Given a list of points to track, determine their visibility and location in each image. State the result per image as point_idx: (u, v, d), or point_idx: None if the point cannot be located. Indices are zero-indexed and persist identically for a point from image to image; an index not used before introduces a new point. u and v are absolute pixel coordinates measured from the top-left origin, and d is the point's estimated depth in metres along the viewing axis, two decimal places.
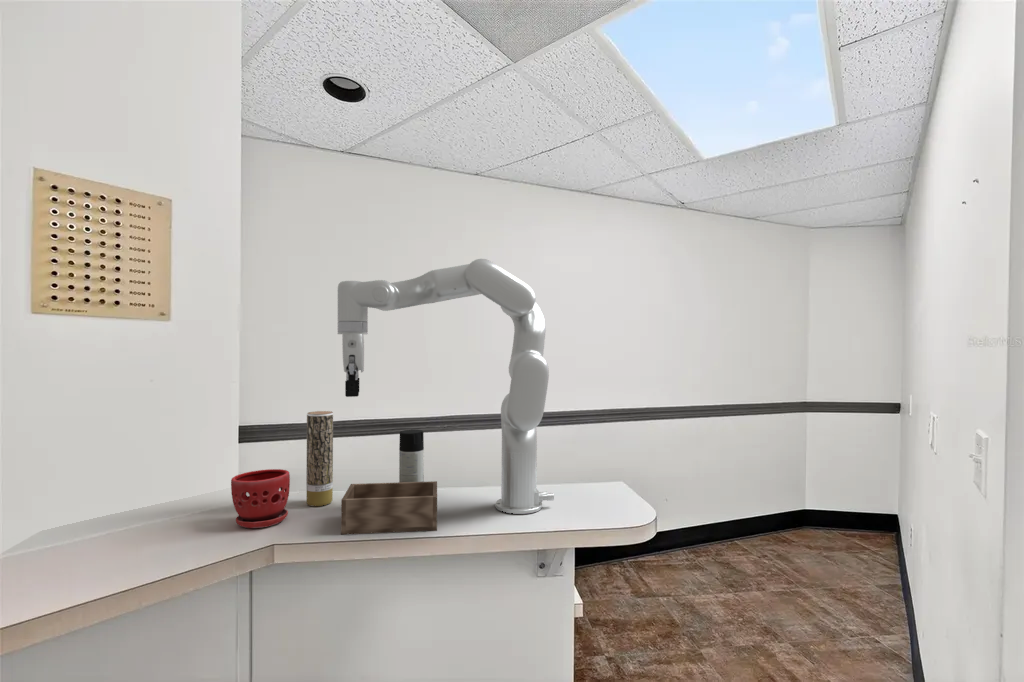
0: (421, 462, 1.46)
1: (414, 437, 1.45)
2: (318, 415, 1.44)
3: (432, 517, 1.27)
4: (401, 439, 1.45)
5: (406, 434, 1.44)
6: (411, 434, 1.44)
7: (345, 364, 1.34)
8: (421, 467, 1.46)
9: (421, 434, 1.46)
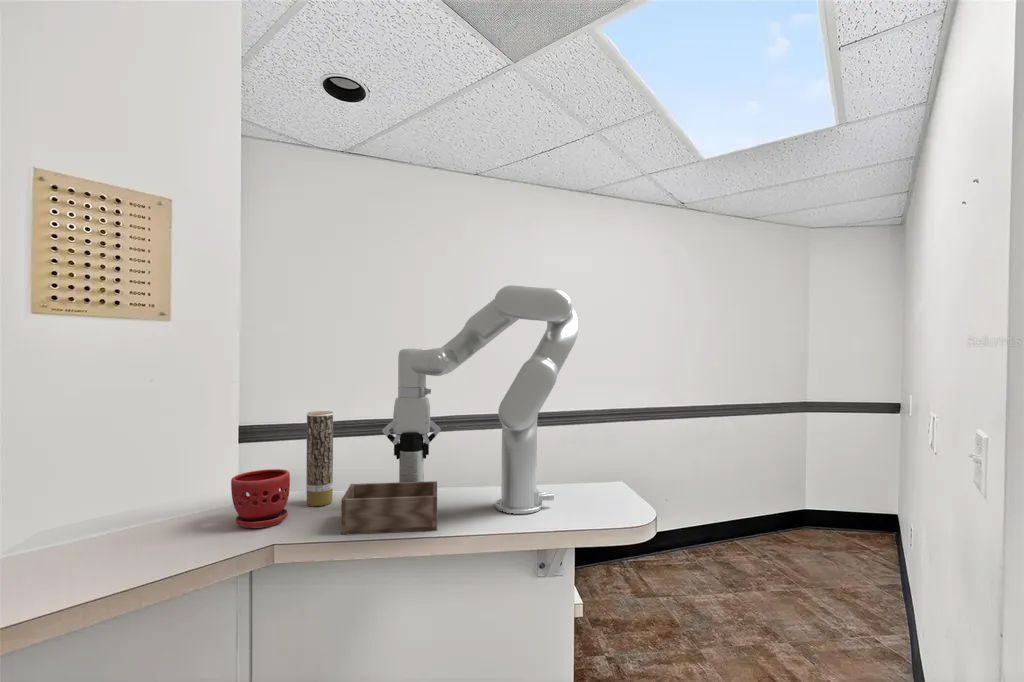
0: (421, 462, 1.46)
1: (414, 437, 1.45)
2: (318, 415, 1.44)
3: (432, 517, 1.27)
4: (401, 439, 1.45)
5: (406, 434, 1.44)
6: (411, 434, 1.44)
7: (429, 426, 1.47)
8: (421, 467, 1.46)
9: None
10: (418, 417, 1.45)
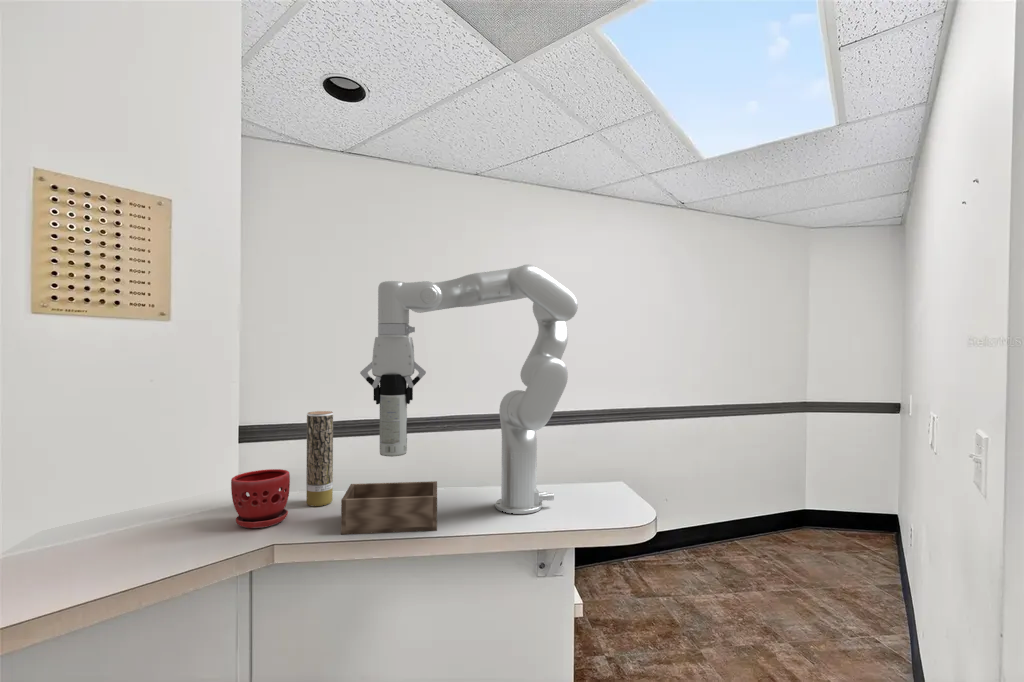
0: (404, 407, 1.31)
1: (396, 378, 1.29)
2: (318, 415, 1.44)
3: (432, 517, 1.27)
4: (381, 381, 1.30)
5: (387, 375, 1.29)
6: (392, 375, 1.29)
7: (413, 368, 1.31)
8: (404, 413, 1.31)
9: None
10: (400, 357, 1.30)
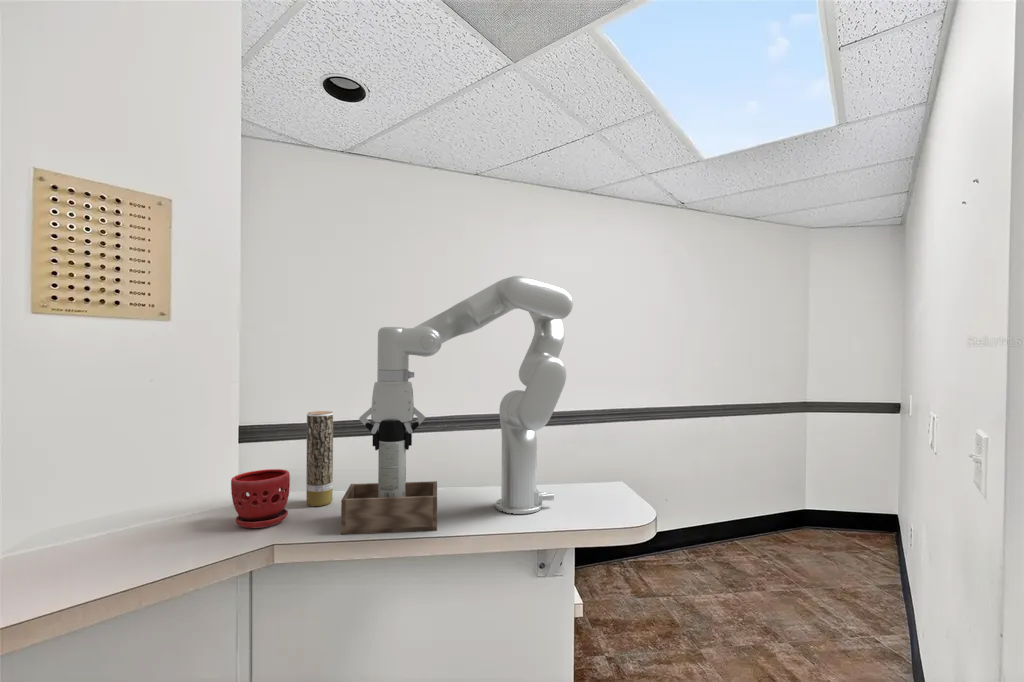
0: (403, 453, 1.31)
1: (395, 425, 1.29)
2: (318, 415, 1.44)
3: (432, 517, 1.27)
4: (380, 428, 1.30)
5: (386, 422, 1.29)
6: (391, 422, 1.29)
7: (412, 414, 1.31)
8: (403, 459, 1.31)
9: None
10: (399, 403, 1.30)
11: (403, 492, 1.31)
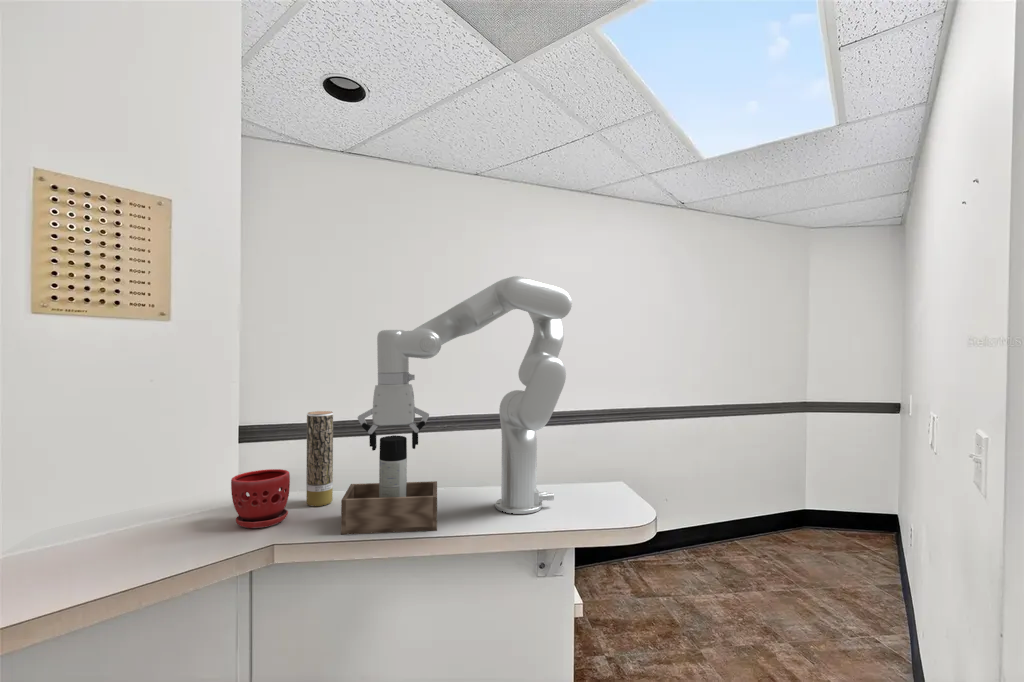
0: (404, 472, 1.31)
1: (396, 444, 1.29)
2: (318, 415, 1.44)
3: (432, 517, 1.27)
4: (381, 447, 1.29)
5: (387, 441, 1.29)
6: (392, 441, 1.29)
7: (413, 416, 1.31)
8: (404, 478, 1.31)
9: (404, 441, 1.31)
10: (400, 406, 1.30)
11: None
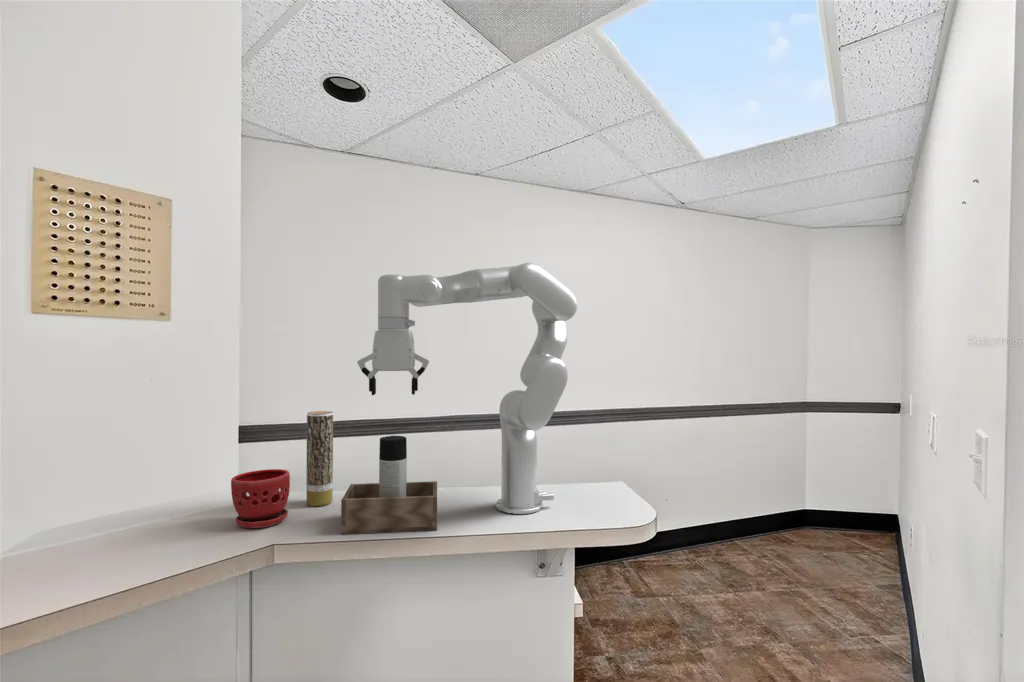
0: (404, 472, 1.31)
1: (396, 444, 1.29)
2: (318, 415, 1.44)
3: (432, 517, 1.27)
4: (381, 446, 1.30)
5: (387, 441, 1.29)
6: (392, 441, 1.29)
7: (413, 361, 1.31)
8: (403, 478, 1.31)
9: (404, 441, 1.31)
10: (400, 351, 1.30)
11: None
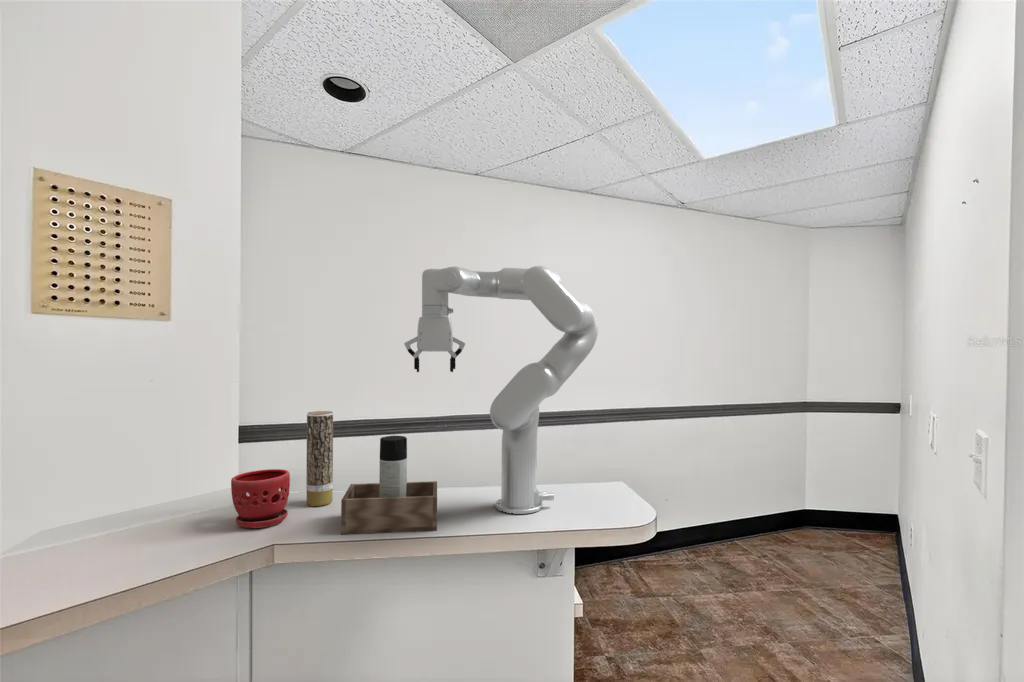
0: (404, 472, 1.31)
1: (396, 444, 1.29)
2: (318, 415, 1.44)
3: (432, 517, 1.27)
4: (381, 446, 1.30)
5: (387, 441, 1.29)
6: (393, 441, 1.29)
7: (452, 343, 1.53)
8: (404, 478, 1.31)
9: (404, 441, 1.31)
10: (442, 334, 1.52)
11: None
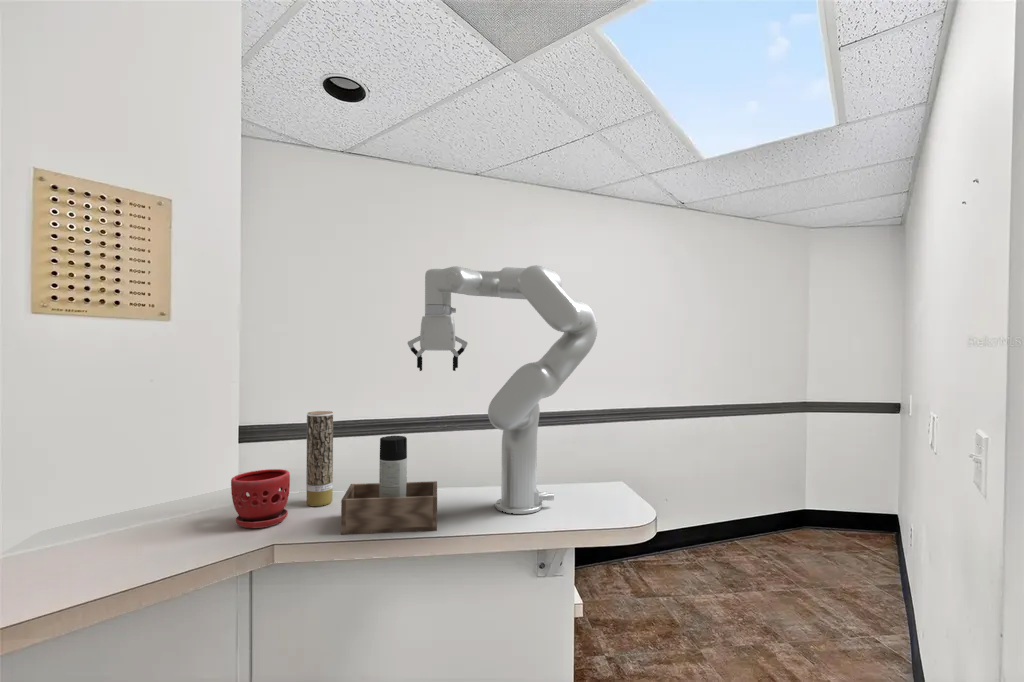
0: (404, 472, 1.31)
1: (396, 444, 1.29)
2: (318, 415, 1.44)
3: (432, 517, 1.27)
4: (381, 446, 1.30)
5: (387, 441, 1.29)
6: (393, 441, 1.29)
7: (454, 343, 1.54)
8: (404, 478, 1.31)
9: (404, 441, 1.31)
10: (444, 333, 1.53)
11: None
